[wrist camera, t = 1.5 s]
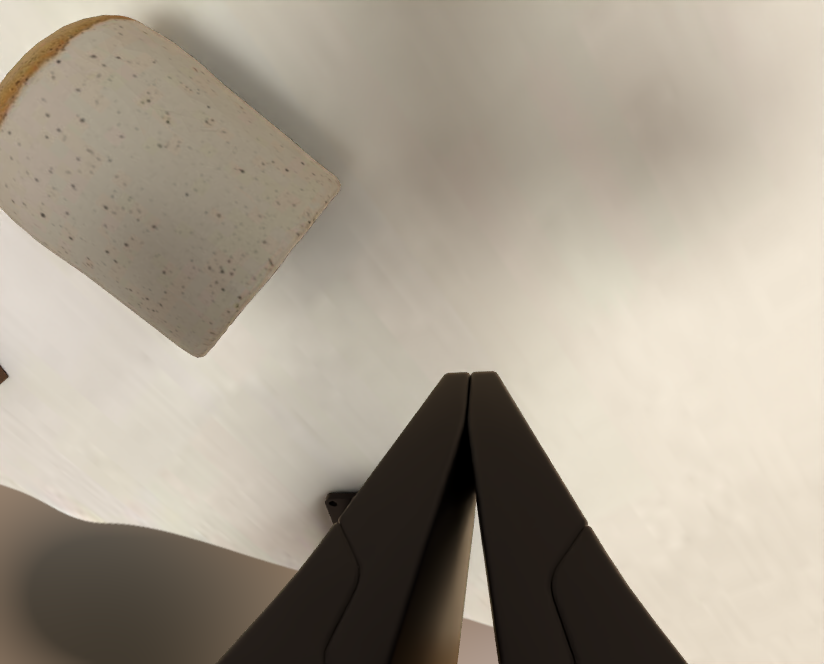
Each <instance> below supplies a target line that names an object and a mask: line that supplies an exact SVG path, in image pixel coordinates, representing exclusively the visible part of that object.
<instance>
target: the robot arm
mask: <svg viewBox="0 0 824 664" xmlns="http://www.w3.org/2000/svg"><path fill="white" fill-rule="evenodd" d="M476 502H477V510H478V517H479V525H480V532H481V539H482V546H483V554H484V561H485V568H486V575H487V583H488V590H489V597H490V604H491V612H492V619H493V626H494V633H495V641H496V647H497V655H498V662H499V664H688V663H687V662H686V661H685V660H684V658H683V657H682V656H681V654H680V653H679V652H678V651H677V649H676V648H675V647H674V645H673V644H672V643H671V642H670V640H669V639H668V638H667V636H666V635H665V634H664V633H663V631H662V630H661V629H660V628H659V626H658V625H657V624H656V622H655V621H654V620H653V618H652V617H651V616H650V614H649V613H648V612H647V610H646V609H645V607H644V606H643V605H642V603H641V602H640V601H639V599H638V598H637V597H636V595H635V594H634V593H633V591H632V590H631V589H630V587H629V586H628V584H627V583H626V581H625V580H624V578H623V577H622V575H621V574H620V572H619V571H618V569H617V568H616V566H615V565H614V563H613V562H612V560H611V559H610V557H609V555H608V554H607V552H606V551H605V549H604V548H603V546H602V544H601V543H600V541H599V540H598V538H597V536H596V535H595V533H594V531H593V530H592V528H591V527H590V526H588V522H587V520H586V519H585V517H584V515H583V514H582V512H581V510H580V509H579V507H578V505H577V504H576V502H575V501H574V499H573V497H572V496H571V494H570V492H569V491H568V489H567V487H566V486H565V484H564V482H563V481H562V479H561V478H560V476H559V474H558V473H557V471H556V469H555V468H554V466H553V464H552V463H551V461H550V459H549V458H548V456H547V454H546V453H545V451H544V450H543V448H542V446H541V445H540V443H539V441H538V440H537V438H536V436H535V435H534V433H533V431H532V430H531V428H530V427H529V425H528V423H527V422H526V420H525V418H524V417H523V415H522V413H521V412H520V410H519V408H518V407H517V405H516V403H515V402H514V400H513V399H512V397H511V395H510V394H509V392H508V390H507V389H506V387H505V385H504V384H503V382H502V380H501V379H500V377H499V376H498V374H497V373H496V372H494V371H483V372H473V373H472V374H471V376H470V374H469V373H467V372H459V373H447V374H445V375H444V376H443V377H442V379H441V380H440V381H439V383H438V384H437V386H436V387H435V388H434V390H433V391H432V392H431V394H430V395H429V396H428V398H427V399H426V400H425V402H424V403H423V405H422V406H421V407H420V409H419V410H418V411H417V413H416V414H415V415H414V417H413V418H412V419H411V421H410V422H409V424H408V425H407V426H406V428H405V429H404V430H403V432H402V433H401V434H400V436H399V437H398V438H397V440H396V441H395V443H394V444H393V445H392V447H391V448H390V449H389V451H388V452H387V453H386V455H385V456H384V458H383V459H382V460H381V462H380V463H379V464H378V466H377V467H376V468H375V470H374V471H373V472H372V474H371V475H370V477H369V478H368V479H367V481H366V482H365V483H364V485H363V486H362V487H361V489H360V490H359V491H358V493H329V494H328V495H327V497H326V500H325V504H326V507H327V509H328V512H329V514H330V517H331V519H332V522H333V524H334V525H333V526H332V528H331V529H330V530H329V532H328V533H327V535H326V536H325V537H324V539H323V540H322V541H321V543H320V544H319V545H318V546H317V548H316V549H315V550H314V552H313V553H312V554H311V555H310V557H309V558H308V559H307V561H306V562H305V563H304V564H303V566H302V567H301V568H300V570H299V571H298V572H297V573H296V574H295V576H294V577H293V578H292V579H291V580H290V581H289V582H288V584H287V585H286V586H285V587H284V588H283V589H282V591H281V592H280V593H279V594H278V595H277V596H276V598H275V599H274V600H273V601H272V602H271V603H270V604H269V606H268V607H267V608H266V609H265V610H264V611H263V612H262V613H261V614H260V615H259V617H258V618H257V619H256V620H255V621H254V622H253V623H252V624H251V625H250V626H249V628H248V629H247V630H246V631H245V632H244V633H243V634H242V635H241V636H240V638H239V639H238V640H237V641H236V642H235V643H234V644H233V645H232V646H231V647H230V648H229V650H228V651H227V652H226V653H225V654H224V655H223V656H222V657H221V658H220V659H219V661H218V662H217V663H216V664H457V661H458V653H459V645H460V636H461V628H462V619H463V611H464V602H465V594H466V586H467V577H468V569H469V560H470V552H471V543H472V535H473V526H474V518H475V507H476Z"/></svg>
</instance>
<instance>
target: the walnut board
mask: <svg viewBox="0 0 824 664" xmlns="http://www.w3.org/2000/svg"><path fill="white" fill-rule="evenodd" d="M7 378H8V376H7V374H6V373H5V372H4V371H3V369H2V368H1V367H0V384H1V383H2V382H4V381H5V380H6V379H7Z"/></svg>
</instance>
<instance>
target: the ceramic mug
mask: <svg viewBox="0 0 824 664" xmlns="http://www.w3.org/2000/svg"><path fill="white" fill-rule="evenodd" d="M340 188H341V184H340V182H339V180H338V178H337V177H336V176H334V175H333V174H332V173H331V172H329V171H328V170H327V169H325V168H324V167H323V166H322V165H320V164H319V163H318V162H316V161H315V160H314V159H313V158H312V157H310V156H309V155H308V154H307V153H306V152H305V151H303V150H302V149H301V148H300V147H299V146H298V145H297V144H295V143H294V142H293V141H292V140H291V139H290V138H288V137H287V136H286V135H285V134H284V133H283V132H281V131H280V130H279V129H278V128H276V127H275V126H274V125H273V124H271V123H270V122H269V121H268V120H267V119H265V118H264V117H263V116H262V115H260V114H259V113H258V112H257V111H256V110H254V109H253V108H252V107H251V106H250V105H248V104H247V103H246V102H245V101H243V100H242V99H241V98H240V97H238V96H237V95H236V94H235V93H233V92H232V91H231V90H230V89H228V88H227V87H226V86H225V85H224V84H223V83H222V82H220V81H219V80H218V79H217V78H216V77H215V76H214V75H213V74H212V73H211V72H210V71H208V70H207V69H206V68H205V67H204V66H203V65H202V64H201V63H199V62H198V61H197V60H196V59H194V58H193V57H192V56H190V55H189V54H188V53H187V52H185V51H184V50H183V49H181V48H180V47H179V46H177V45H176V44H175V43H174V42H172V41H171V40H169V39H167V38H166V37H164V36H162V35H160V34H159V33H157V32H155V31H154V30H152V29H150V28H149V27H147V26H145V25H144V24H142V23H140V22H138V21H136V20H134V19H131V18H129V17H124V16H117V15H102V16H97V17H91V18H86V19H82V20H79V21H77V22H74V23H72V24H69V25H66V26H64V27H62V28H60V29H59V30H57V31H56V32H54V33H53V34H51V35H50V36H48V37H46V38H45V39H43V40H42V41H40V42H39V43H37V44H36V45H35V46H34V47H33V48H32V49H31V50H29V51H28V52H27V53H26V54H25V55H24V56H23V57H22V58H21V59H20V61H19V62H18V63H17V64H16V65H15V66H14V67H13V68H12V69H11V70H10V72H9V73H8V74H7V75H6V77H5V78H4V79H3V81H2V82H1V83H0V208H1V209H2V210H3V211H4V212H5V213H6V214H7V215H8V216H9V217H10V218H11V219H12V220H13V221H14V222H16V223H17V224H18V225H19V226H20V227H21V228H23V229H24V230H25V231H26V232H27V233H28V234H30V235H31V236H32V237H33V238H34V239H36V240H37V241H38V242H39V243H41V244H42V245H43V246H45V247H46V248H48V249H49V250H50V251H52V252H53V253H55V254H56V255H57V256H59V257H60V258H62V259H63V260H65V261H66V262H68V263H69V264H70V265H72V266H73V267H75V268H76V269H78V270H79V271H81V272H82V273H84V274H85V275H86V276H88V277H89V278H90V279H92V280H93V281H94V282H96V283H97V284H98V285H100V286H101V287H102V288H103V289H105V290H106V291H107V292H109V293H110V294H111V295H113V296H114V297H115V298H117V299H118V300H119V301H120V302H122V303H123V304H124V305H126V306H127V307H128V308H130V309H131V310H132V311H133V312H135V313H136V314H137V315H139V316H140V317H141V318H143V319H144V320H145V321H146V322H148V323H149V324H150V325H152V326H153V327H154V328H156V329H157V330H158V331H159V332H161V333H162V334H163V335H165V336H166V337H167V338H169V339H170V340H171V341H172V342H174V343H175V344H176V345H178V346H179V347H180V348H182V349H183V350H185V351H186V352H188V353H189V354H191V355H193V356H195V357H197V358H198V357H203V356H205V355H206V354H207V353H208V352H209V350H210V349H211V348H212V347H213V346H214V345H215V344H216V342H217V341H218V340H219V339H220V337H221V336H222V335H223V334H224V333H225V332H226V330H227V329H228V327H229V326H230V325H231V324H232V323H233V322H234V320H235V319H236V317H237V316H238V315H239V314H240V313H241V311H242V310H243V309H244V308H245V307H246V305H247V304H248V303H249V302H250V301H251V300H252V299H253V297H254V296H255V295H256V294H257V293H258V292H259V291H260V289H261V288H262V287H263V286H264V285H265V284H266V283H267V281H268V280H269V279H270V278H271V277H272V275H273V274H274V273H275V272H276V270H277V269H278V268H279V267H280V265H281V264H282V263H283V261H284V260H285V258H286V257H287V256H288V254H289V253H290V251H291V250H292V249H293V248H294V246H295V245H296V244H297V243H298V242H299V241H300V240H301V239H302V237H303V236H304V235H305V233H306V232H307V231H308V230H309V228H310V227H311V226H312V225H313V223H314V222H315V220H316V219H317V218H318V216H319V215H320V214H321V213H322V212H323V211H324V209H325V208H326V207H327V206H328V204H329V203H330V202H331V200H332V199H333V198H334V197H335V195H336V194H338V192H339V191H340Z"/></svg>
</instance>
